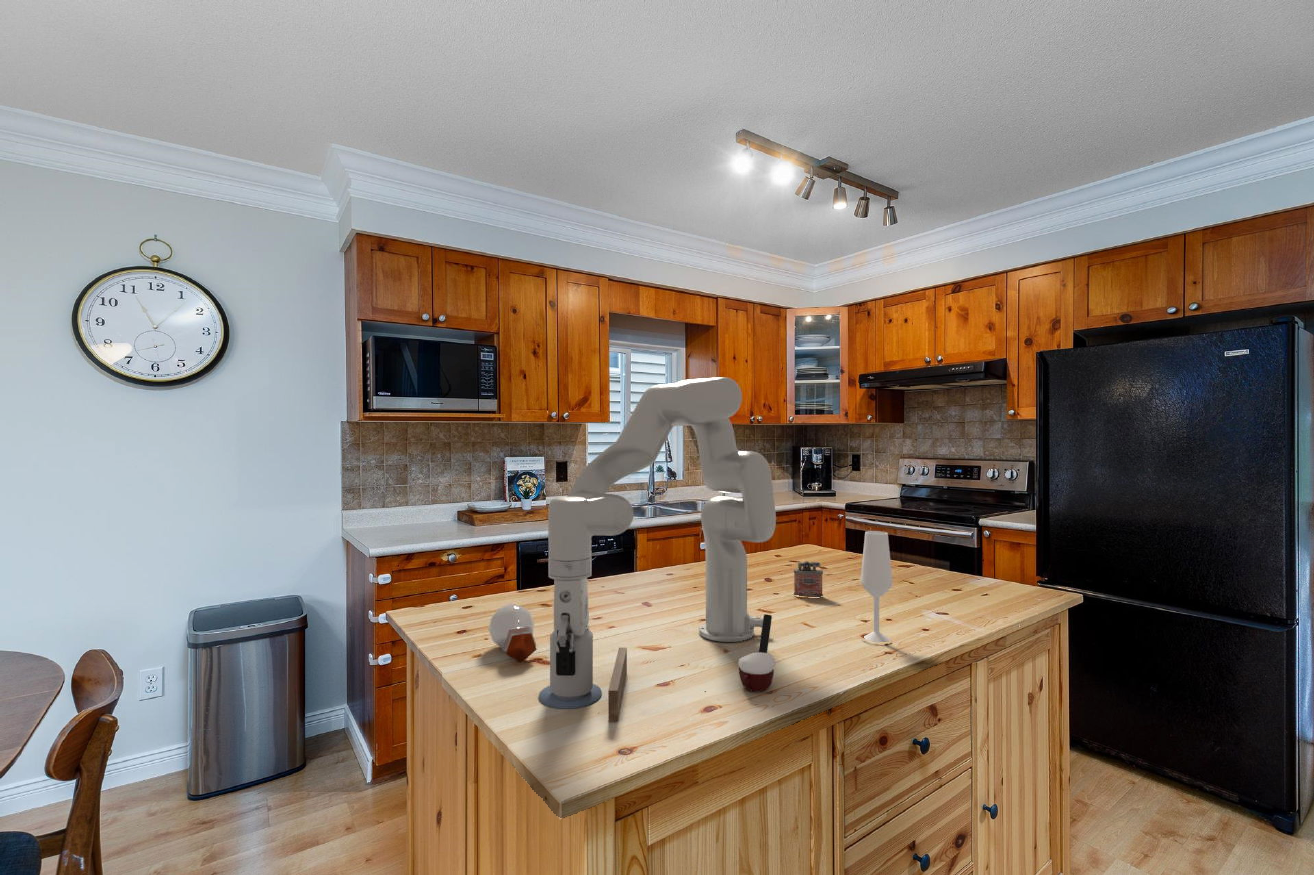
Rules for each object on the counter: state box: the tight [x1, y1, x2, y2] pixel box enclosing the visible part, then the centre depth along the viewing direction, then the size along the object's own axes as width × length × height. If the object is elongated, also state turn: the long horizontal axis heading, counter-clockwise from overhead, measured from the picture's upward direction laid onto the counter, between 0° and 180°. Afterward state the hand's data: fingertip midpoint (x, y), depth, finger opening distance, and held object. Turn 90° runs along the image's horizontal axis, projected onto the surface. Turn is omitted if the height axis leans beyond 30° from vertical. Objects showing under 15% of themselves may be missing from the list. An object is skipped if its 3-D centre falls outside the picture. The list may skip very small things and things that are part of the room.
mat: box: [538, 683, 603, 710], centre depth 109 cm, size 11×11×1 cm
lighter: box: [793, 560, 824, 597], centre depth 175 cm, size 8×3×10 cm, turn 80°
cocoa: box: [737, 613, 776, 692], centre depth 113 cm, size 10×6×12 cm, turn 122°
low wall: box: [607, 647, 628, 723], centre depth 109 cm, size 2×20×5 cm, turn 178°
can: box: [549, 623, 594, 700], centre depth 110 cm, size 8×8×12 cm
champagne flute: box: [860, 530, 894, 642], centre depth 138 cm, size 7×7×24 cm
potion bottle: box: [488, 603, 537, 663], centre depth 132 cm, size 9×10×15 cm
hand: (570, 664), depth 109 cm, fingers open, 9 cm apart
